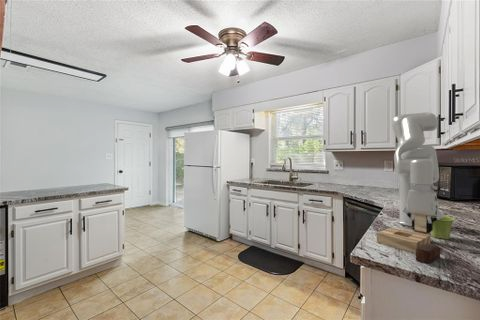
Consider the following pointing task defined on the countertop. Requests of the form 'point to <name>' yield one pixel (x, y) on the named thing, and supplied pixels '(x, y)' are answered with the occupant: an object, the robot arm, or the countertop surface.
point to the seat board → (402, 239)
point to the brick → (427, 253)
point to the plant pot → (442, 227)
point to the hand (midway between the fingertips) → (422, 230)
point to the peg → (421, 223)
